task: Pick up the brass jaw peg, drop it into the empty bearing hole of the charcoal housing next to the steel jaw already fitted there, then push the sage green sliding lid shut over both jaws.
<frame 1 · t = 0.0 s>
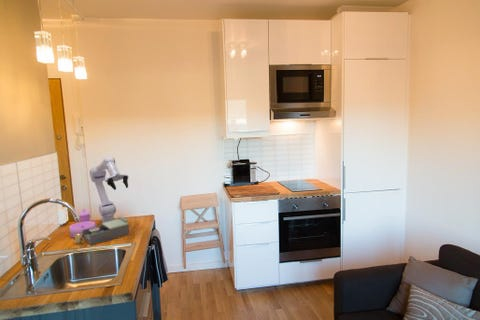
hand: (121, 187, 191), 32 cm above the countertop, tool tilted 50°, fingers open, 7 cm apart
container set: (84, 232, 209), on the countertop
jaw peg: (79, 243, 188), on the countertop
housing: (97, 239, 194), on the countertop
lid: (115, 222, 201), point 8 cm above the countertop, slide at 12.0 cm
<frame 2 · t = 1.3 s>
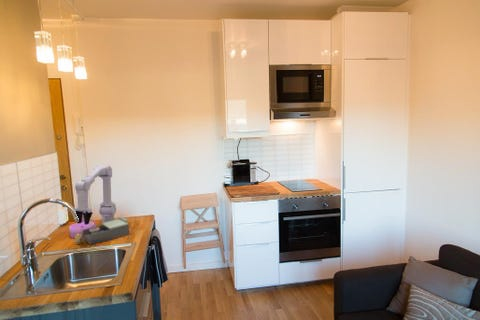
hand: (83, 223, 185), 13 cm above the countertop, tool pointing down, fingers open, 7 cm apart
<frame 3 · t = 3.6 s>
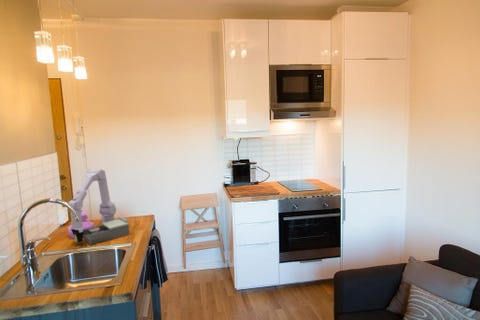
hand: (78, 240, 188), 2 cm above the countertop, tool pointing down, fingers closed on jaw peg, 4 cm apart
jaw peg: (79, 243, 188), on the countertop, touching gripper
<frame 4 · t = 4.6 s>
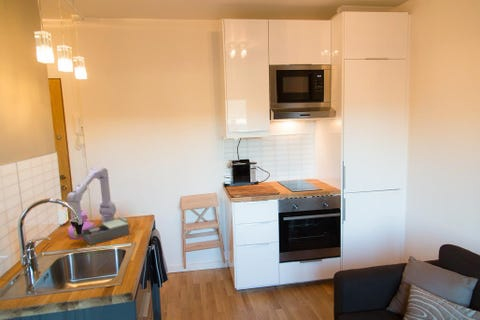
hand: (78, 233, 188), 6 cm above the countertop, tool pointing down, fingers closed on jaw peg, 4 cm apart
jaw peg: (78, 235, 188), point 5 cm above the countertop, touching gripper
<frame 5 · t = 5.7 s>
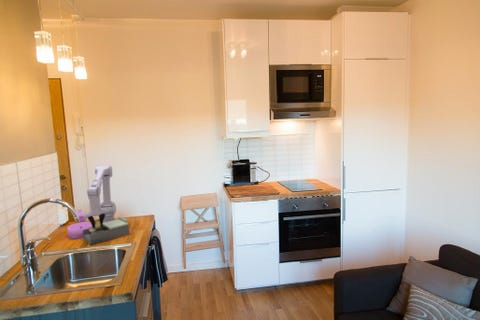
hand: (97, 227, 190), 9 cm above the countertop, tool pointing down, fingers closed on jaw peg, 4 cm apart
jaw peg: (97, 229, 191), point 7 cm above the countertop, touching gripper
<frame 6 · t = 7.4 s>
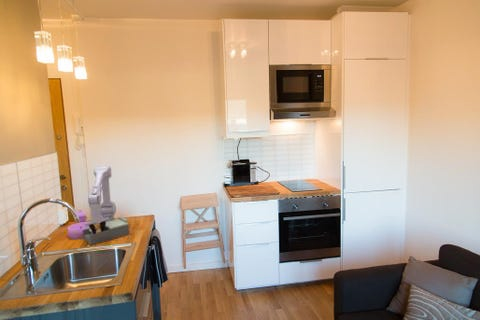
hand: (98, 234, 191), 4 cm above the countertop, tool pointing down, fingers closed on jaw peg, 4 cm apart
jaw peg: (98, 237, 191), point 2 cm above the countertop, touching gripper
when the fingers open (4 cm above the countertop, at t = 7.4 s): jaw peg drops 2 cm, resting in housing.
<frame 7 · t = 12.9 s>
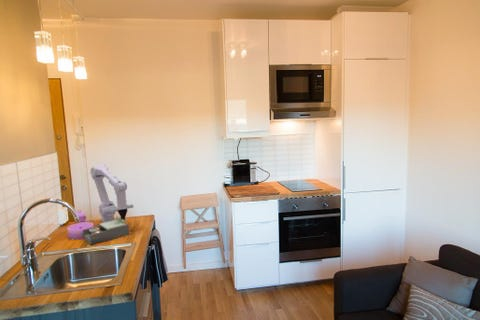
hand: (123, 220, 205), 8 cm above the countertop, tool pointing down, fingers closed
jaw peg: (98, 240, 192), resting in housing
lid: (112, 223, 200), point 8 cm above the countertop, slide at 10.4 cm, touching gripper
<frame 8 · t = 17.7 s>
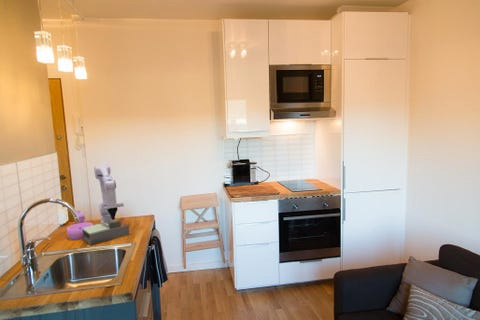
hand: (113, 219, 200), 10 cm above the countertop, tool pointing down, fingers closed
lid: (95, 227, 193), point 8 cm above the countertop, slide at 0.0 cm
at the end: jaw peg 0.1 cm from the target spot on the housing, point 0.0 cm above the housing's base; jaw peg tilted 0°; lid slide at 0.0 cm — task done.
